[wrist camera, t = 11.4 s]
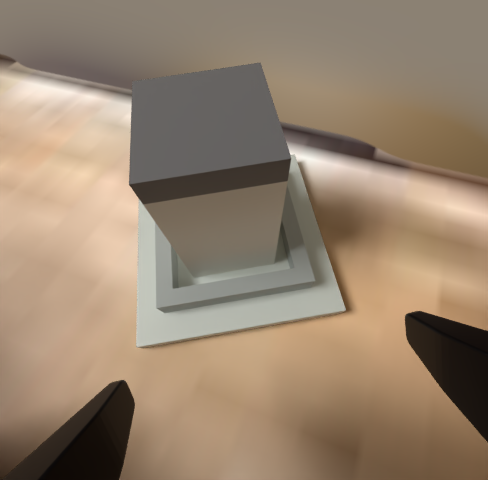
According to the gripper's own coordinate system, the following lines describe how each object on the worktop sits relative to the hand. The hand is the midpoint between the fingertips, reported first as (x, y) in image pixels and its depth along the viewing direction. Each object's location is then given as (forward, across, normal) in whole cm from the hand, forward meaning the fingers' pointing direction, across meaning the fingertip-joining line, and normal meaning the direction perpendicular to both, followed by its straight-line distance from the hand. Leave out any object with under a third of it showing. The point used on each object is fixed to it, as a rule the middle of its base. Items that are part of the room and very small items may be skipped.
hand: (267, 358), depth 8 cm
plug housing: (+12, +1, -1) cm, 12 cm away
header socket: (+12, +1, -1) cm, 12 cm away
